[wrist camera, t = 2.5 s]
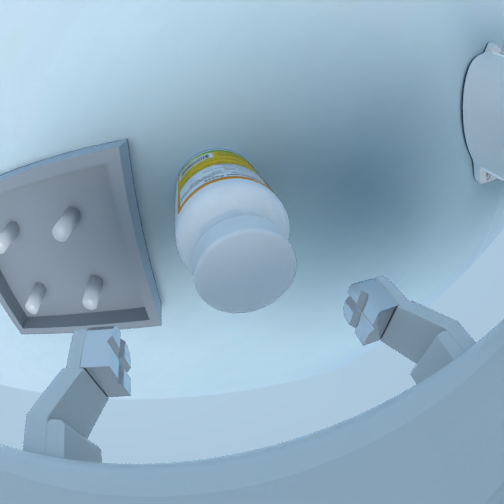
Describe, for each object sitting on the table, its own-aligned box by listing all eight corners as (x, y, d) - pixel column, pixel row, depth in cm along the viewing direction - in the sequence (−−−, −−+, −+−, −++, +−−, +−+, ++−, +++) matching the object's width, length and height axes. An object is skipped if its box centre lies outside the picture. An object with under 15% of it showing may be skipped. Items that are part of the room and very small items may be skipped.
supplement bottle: (242, 226, 20) (285, 326, 12) (169, 215, 18) (168, 322, 11) (264, 157, 18) (336, 225, 10) (185, 140, 16) (189, 199, 8)
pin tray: (127, 139, 15) (114, 151, 12) (161, 303, 22) (161, 334, 20) (-29, 188, 12) (-52, 207, 9) (28, 315, 20) (18, 342, 17)
